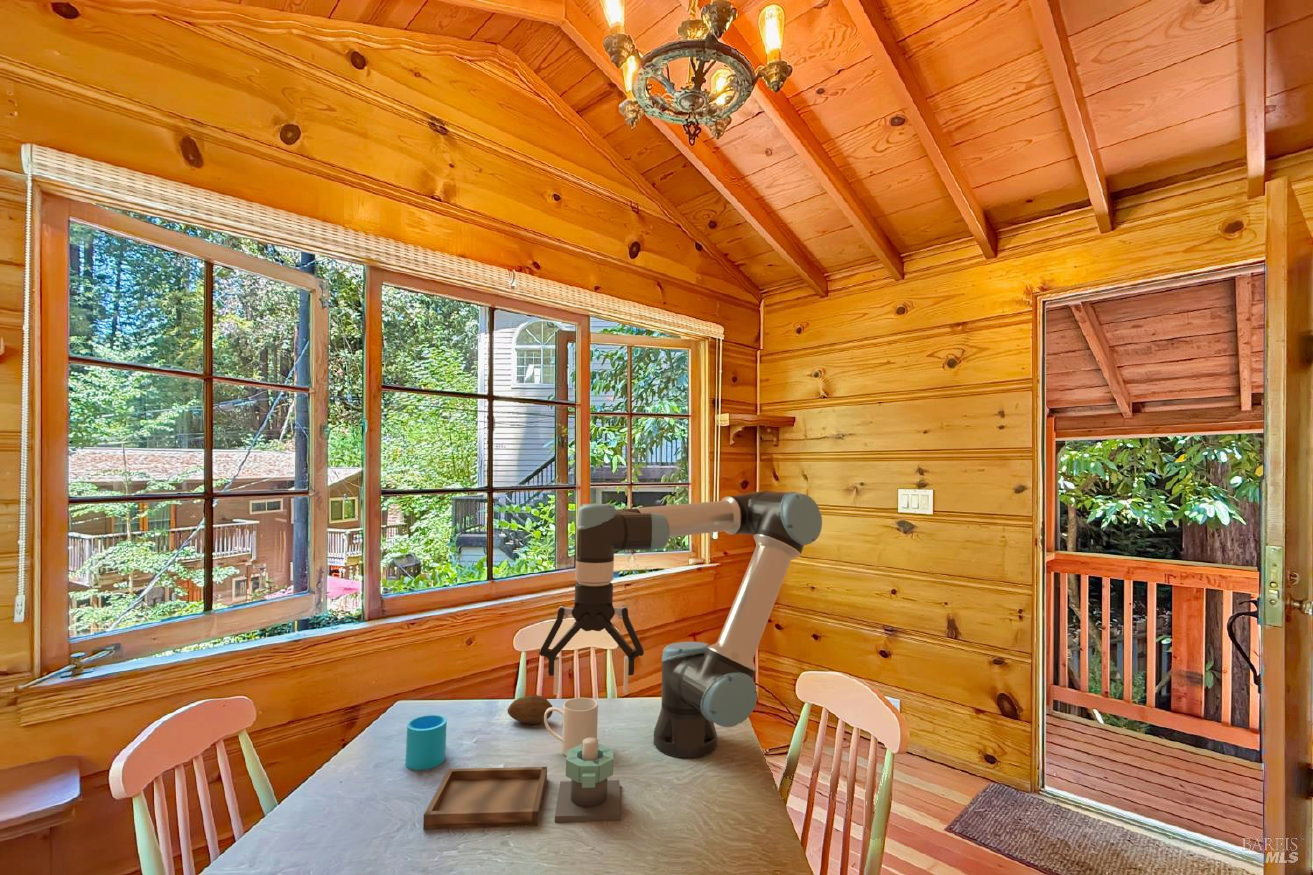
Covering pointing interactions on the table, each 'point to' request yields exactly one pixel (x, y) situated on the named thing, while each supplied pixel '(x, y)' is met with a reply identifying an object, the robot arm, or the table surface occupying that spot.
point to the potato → (530, 709)
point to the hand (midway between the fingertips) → (590, 692)
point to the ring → (589, 766)
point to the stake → (588, 795)
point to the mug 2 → (576, 722)
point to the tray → (487, 798)
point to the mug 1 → (426, 742)
